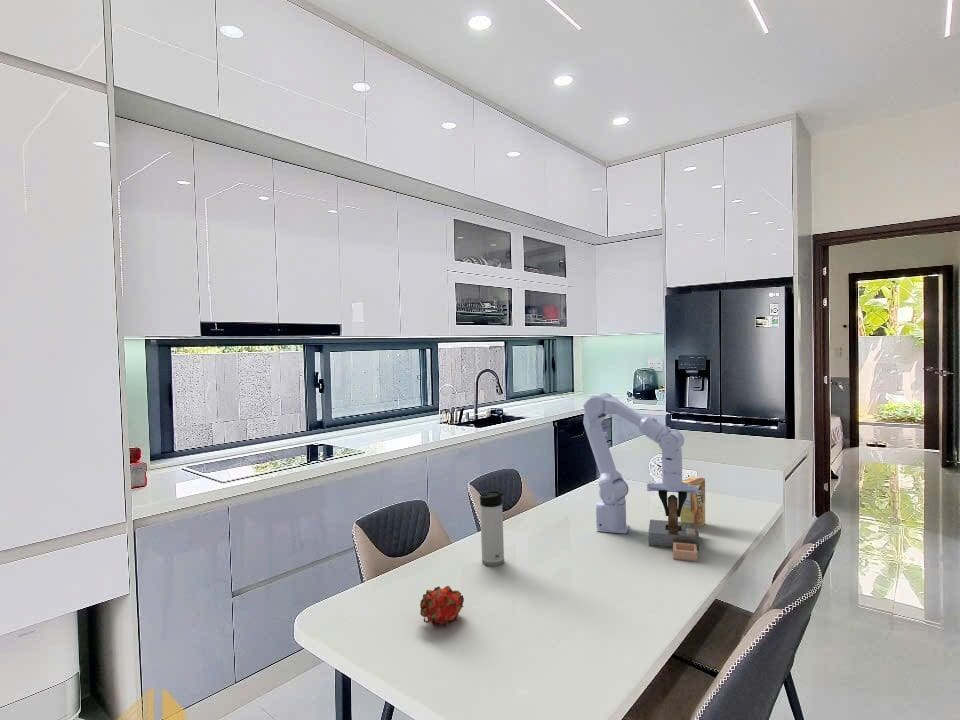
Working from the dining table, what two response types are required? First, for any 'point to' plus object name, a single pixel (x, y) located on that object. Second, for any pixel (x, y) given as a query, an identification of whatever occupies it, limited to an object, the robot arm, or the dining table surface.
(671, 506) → the brown wooden cylinder
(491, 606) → the dining table surface
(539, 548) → the dining table surface
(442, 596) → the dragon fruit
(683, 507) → the candy box
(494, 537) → the travel mug
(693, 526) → the panel
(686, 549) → the holder
